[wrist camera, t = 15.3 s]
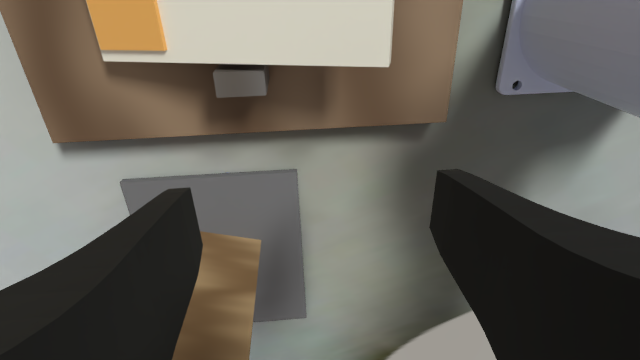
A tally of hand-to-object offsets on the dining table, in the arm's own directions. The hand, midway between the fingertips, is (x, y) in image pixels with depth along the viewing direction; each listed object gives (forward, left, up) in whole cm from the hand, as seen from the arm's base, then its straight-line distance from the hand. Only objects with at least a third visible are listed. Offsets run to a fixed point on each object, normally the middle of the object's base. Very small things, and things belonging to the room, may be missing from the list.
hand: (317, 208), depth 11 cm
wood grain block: (+6, +10, -10) cm, 15 cm away
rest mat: (+6, +10, -10) cm, 15 cm away
